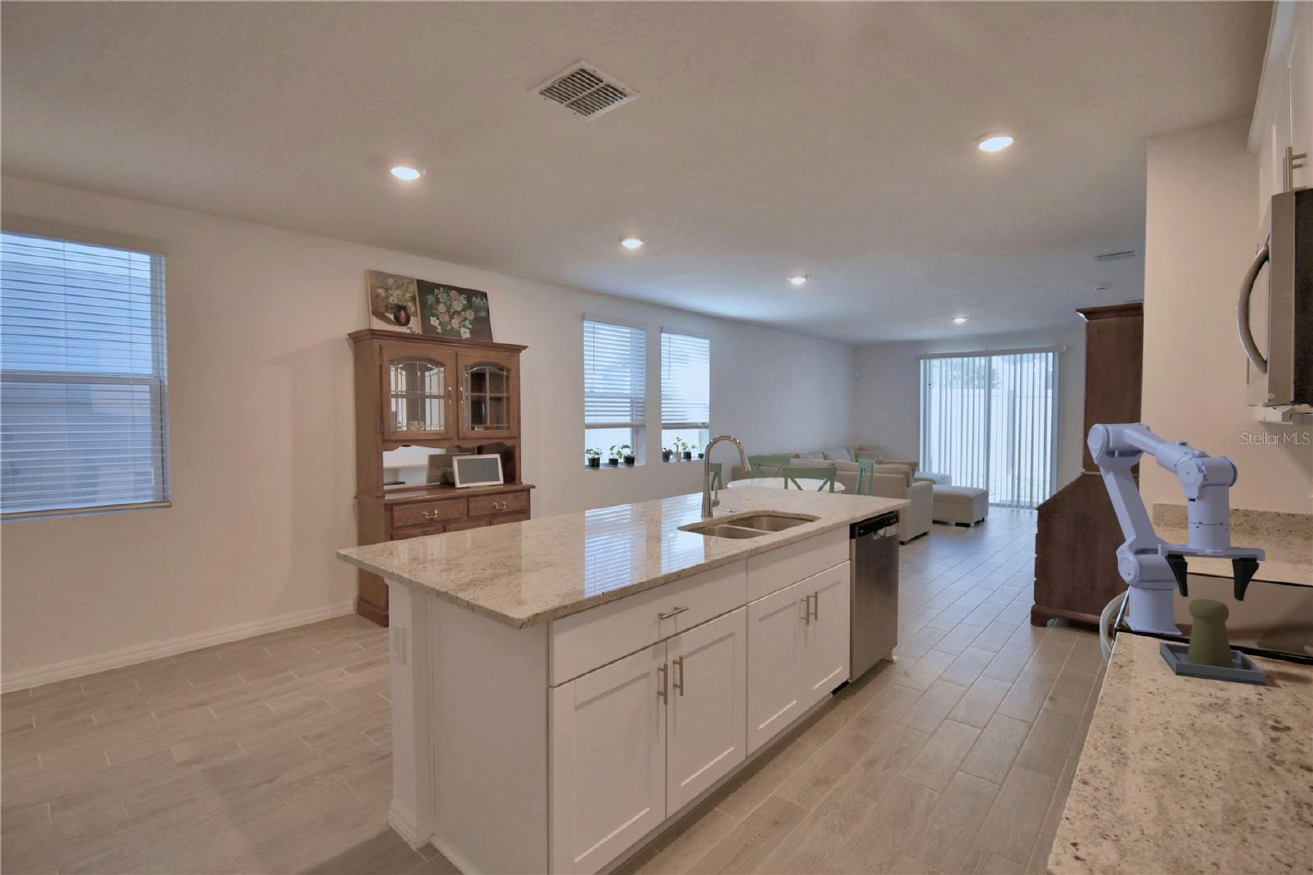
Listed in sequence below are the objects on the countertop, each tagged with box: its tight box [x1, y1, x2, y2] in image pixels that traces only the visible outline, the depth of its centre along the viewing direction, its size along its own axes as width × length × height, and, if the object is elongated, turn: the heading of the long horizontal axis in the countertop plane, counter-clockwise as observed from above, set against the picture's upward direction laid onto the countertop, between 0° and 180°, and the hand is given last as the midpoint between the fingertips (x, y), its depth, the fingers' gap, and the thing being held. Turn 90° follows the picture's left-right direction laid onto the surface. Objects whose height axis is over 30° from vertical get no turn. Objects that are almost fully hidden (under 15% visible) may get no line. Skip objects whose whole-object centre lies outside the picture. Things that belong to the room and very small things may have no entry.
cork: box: [1187, 598, 1234, 668], centre depth 107 cm, size 6×6×11 cm
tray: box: [1159, 642, 1266, 687], centre depth 106 cm, size 11×11×2 cm
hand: (1211, 597), depth 113 cm, fingers open, 7 cm apart
